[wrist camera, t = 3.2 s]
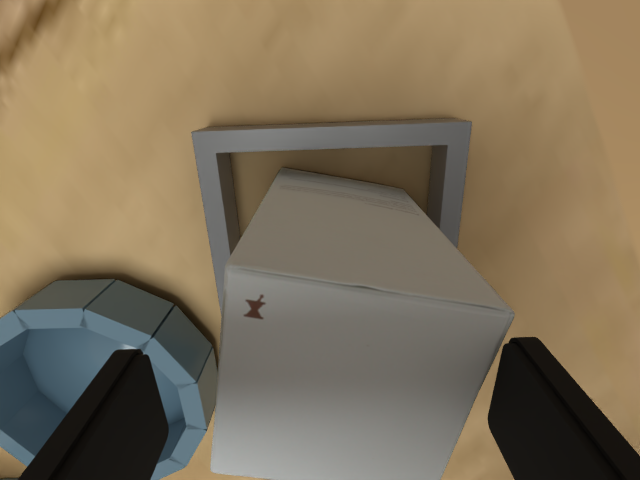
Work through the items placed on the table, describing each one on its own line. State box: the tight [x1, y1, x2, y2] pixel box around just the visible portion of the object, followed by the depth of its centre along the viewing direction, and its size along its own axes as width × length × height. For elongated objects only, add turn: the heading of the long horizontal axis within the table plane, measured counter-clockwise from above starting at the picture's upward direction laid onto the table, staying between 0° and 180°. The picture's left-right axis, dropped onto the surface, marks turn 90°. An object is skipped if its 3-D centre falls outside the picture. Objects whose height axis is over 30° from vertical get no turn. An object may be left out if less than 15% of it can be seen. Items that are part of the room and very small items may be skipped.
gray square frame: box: [191, 118, 472, 316], centre depth 20 cm, size 13×13×2 cm
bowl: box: [0, 279, 218, 480], centre depth 23 cm, size 14×14×4 cm
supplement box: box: [210, 167, 515, 480], centre depth 16 cm, size 7×7×13 cm
